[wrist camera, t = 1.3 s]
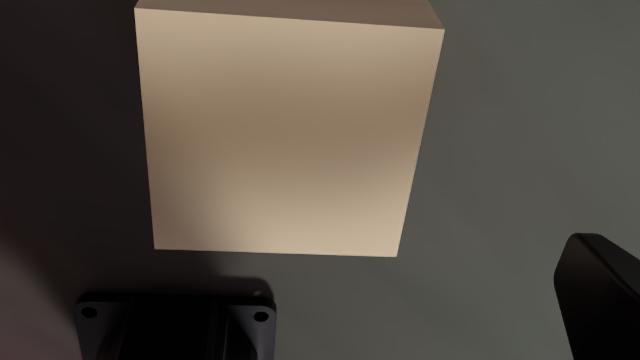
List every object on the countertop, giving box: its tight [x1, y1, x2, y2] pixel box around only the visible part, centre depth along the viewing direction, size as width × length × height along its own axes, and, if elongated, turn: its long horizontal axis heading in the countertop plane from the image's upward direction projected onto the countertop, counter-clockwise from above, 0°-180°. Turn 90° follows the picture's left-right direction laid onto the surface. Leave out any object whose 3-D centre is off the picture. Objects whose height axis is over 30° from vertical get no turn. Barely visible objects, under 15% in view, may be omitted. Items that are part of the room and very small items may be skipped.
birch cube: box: [134, 0, 445, 257], centre depth 13 cm, size 5×5×5 cm
